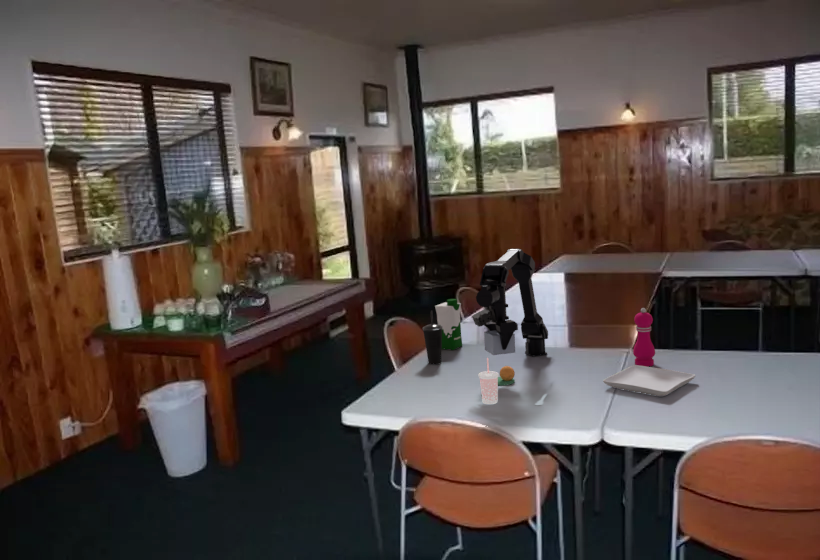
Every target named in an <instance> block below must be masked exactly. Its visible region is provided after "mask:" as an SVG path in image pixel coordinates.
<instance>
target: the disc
mask: <svg viewBox="0 0 820 560" xmlns="http://www.w3.org/2000/svg"><path fill="white" fill-rule="evenodd" d="M515 382H516V381H515V378H513V379H512V380H510V381H505V380H503V379H502V378H501V377H500V376H498V387H499V386H500V387H502V386H509V385H512V384H514V383H515Z"/></svg>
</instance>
